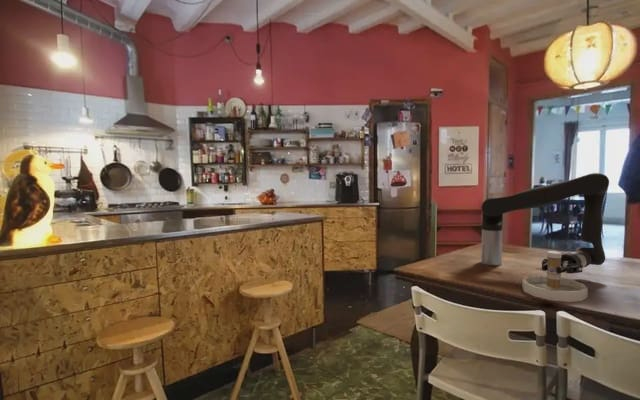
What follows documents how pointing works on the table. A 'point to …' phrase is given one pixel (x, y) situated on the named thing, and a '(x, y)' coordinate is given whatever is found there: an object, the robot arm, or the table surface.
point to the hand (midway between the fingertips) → (550, 269)
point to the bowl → (555, 289)
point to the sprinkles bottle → (553, 269)
